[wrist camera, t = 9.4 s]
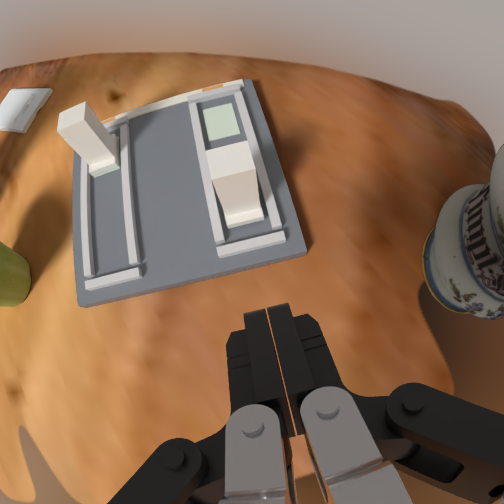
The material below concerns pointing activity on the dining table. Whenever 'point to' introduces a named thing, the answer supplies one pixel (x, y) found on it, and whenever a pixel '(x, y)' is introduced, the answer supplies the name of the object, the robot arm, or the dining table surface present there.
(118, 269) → the switch board
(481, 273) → the apothecary jar
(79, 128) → the tab
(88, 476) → the dining table surface
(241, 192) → the tab
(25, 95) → the external hard drive
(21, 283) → the plant pot
